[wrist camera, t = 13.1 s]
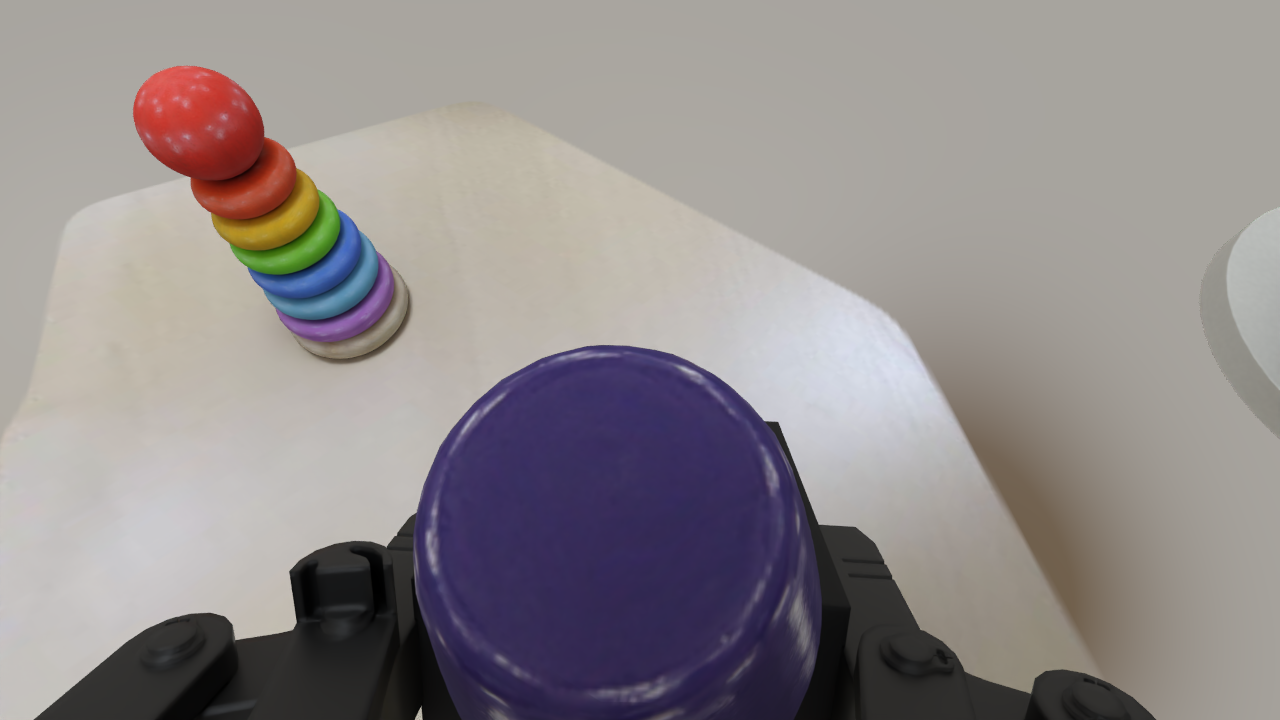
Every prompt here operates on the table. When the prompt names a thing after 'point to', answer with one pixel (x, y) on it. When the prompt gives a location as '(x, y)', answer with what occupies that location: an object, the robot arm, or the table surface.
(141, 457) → the table surface
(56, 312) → the table surface
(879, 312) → the table surface
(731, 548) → the toy lamp
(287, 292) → the stacking toy
